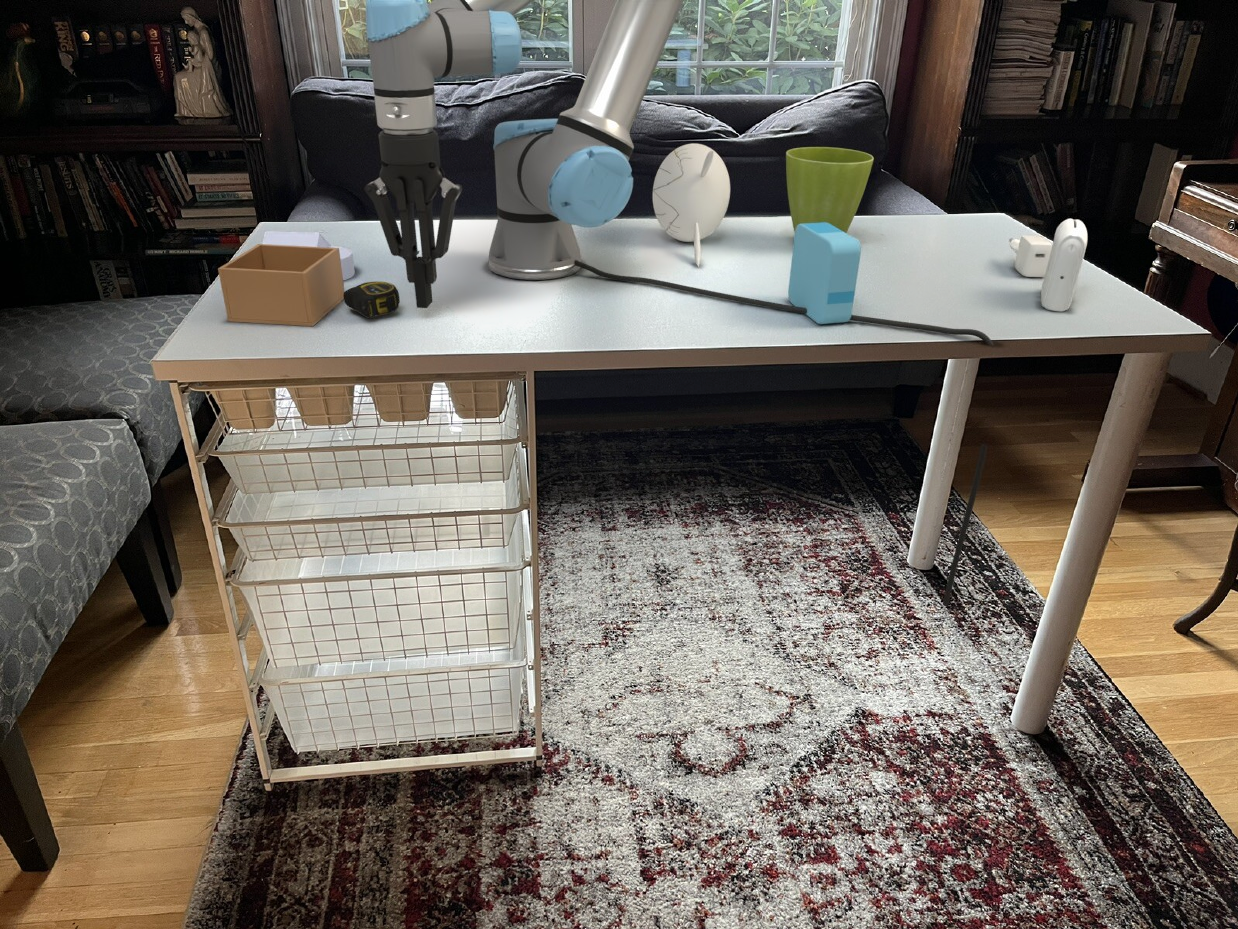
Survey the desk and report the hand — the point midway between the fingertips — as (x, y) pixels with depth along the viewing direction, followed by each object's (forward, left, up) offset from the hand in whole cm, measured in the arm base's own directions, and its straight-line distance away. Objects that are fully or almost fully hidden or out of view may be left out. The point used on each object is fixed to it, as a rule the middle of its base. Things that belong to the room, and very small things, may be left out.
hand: (424, 304), depth 130 cm
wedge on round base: (+23, -16, -2) cm, 28 cm away
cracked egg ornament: (-36, -43, -2) cm, 56 cm away
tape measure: (+8, 0, -2) cm, 8 cm away
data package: (-56, -11, -2) cm, 57 cm away
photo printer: (-93, -22, -2) cm, 95 cm away
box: (+20, 0, -2) cm, 20 cm away
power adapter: (-93, -39, -2) cm, 101 cm away
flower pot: (-59, -47, -2) cm, 75 cm away
